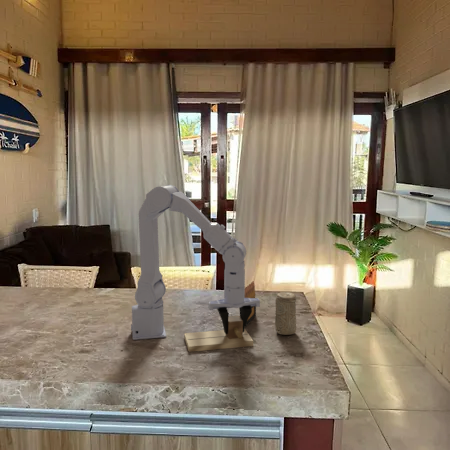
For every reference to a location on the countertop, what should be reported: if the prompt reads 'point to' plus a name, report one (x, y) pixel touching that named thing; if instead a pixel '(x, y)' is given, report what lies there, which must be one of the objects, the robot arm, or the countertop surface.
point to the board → (215, 341)
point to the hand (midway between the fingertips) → (233, 331)
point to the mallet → (235, 327)
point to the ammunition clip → (250, 294)
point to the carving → (285, 313)
